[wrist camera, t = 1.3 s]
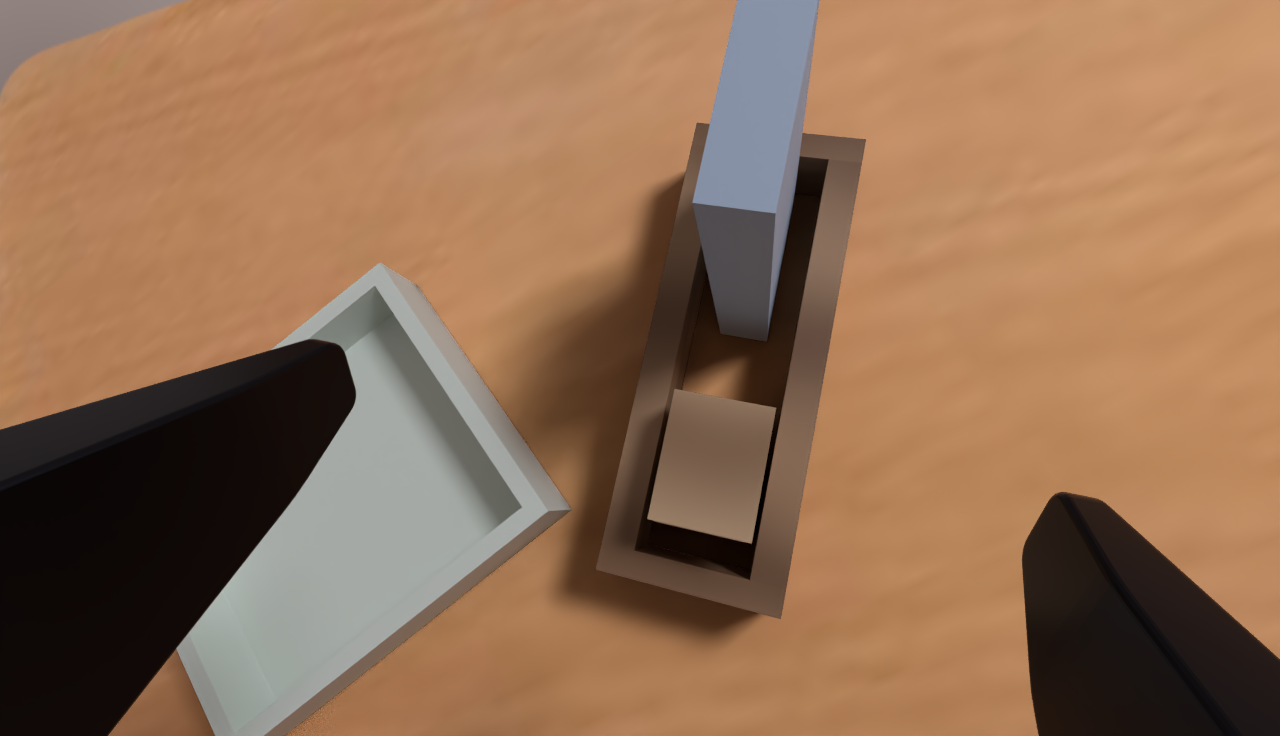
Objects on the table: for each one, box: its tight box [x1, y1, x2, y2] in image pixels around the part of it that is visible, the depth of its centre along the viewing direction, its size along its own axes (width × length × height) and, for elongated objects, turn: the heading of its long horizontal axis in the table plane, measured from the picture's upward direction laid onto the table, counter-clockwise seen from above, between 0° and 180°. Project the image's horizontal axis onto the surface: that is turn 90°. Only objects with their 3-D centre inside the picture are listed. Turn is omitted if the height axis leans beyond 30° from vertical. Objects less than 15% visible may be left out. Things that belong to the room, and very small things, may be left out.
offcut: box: [647, 389, 776, 544], centre depth 18 cm, size 4×3×2 cm
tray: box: [176, 263, 572, 736], centre depth 22 cm, size 13×11×2 cm
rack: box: [596, 123, 866, 619], centre depth 20 cm, size 15×5×2 cm, turn 167°
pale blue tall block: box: [692, 0, 819, 342], centre depth 17 cm, size 5×2×10 cm, turn 167°
